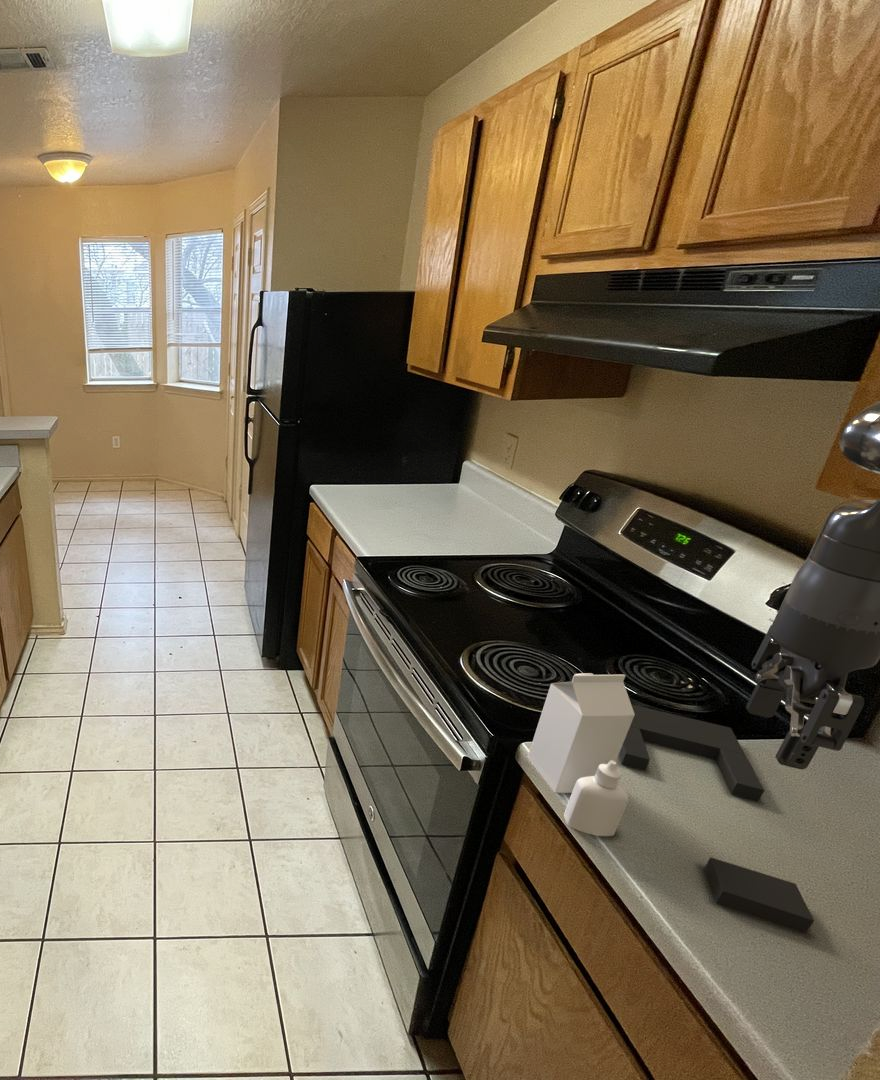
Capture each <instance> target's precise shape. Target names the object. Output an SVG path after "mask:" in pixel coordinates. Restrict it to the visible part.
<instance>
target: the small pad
mask: <svg viewBox="0 0 880 1080" xmlns="http://www.w3.org/2000/svg"><path fill="white" fill-rule="evenodd" d="M703 871H704V874H705V877H706V879H707V882H708V885H709V888H710V891H711V894H712V897H713V899H714V902H715V904H716V905H720V906H723V907H726V908H729V909H732V910H734V911H738V912H741V913H744V914H746V915H750V916H753V917H756V918H758V919H762V920H764V921H767V922H770V923H773V924H777V925H780V926H782V927H786V928H789V929H792V930H795V931H798V932H801V933H803V934H807V933H808V931H809V930H810V928H811V926H812V925H813V923H814V922H815V919H814V918H813V916H812V914H811V912H810V909H809V907H808V906H807V904H806V902H805V899H804V898H803V896H802V894H801V891H800V890H799V888H798V885H797V884H796V883H794V882H792V881H788V880H785V879H781V878H779V877H776V876H773V875H769V874H767V873H766V874H765V873H762V872H761V871H757V870H753V869H749V868H746V867H743V866H740V865H737V864H734V863H730V862H727V861H724V860H721V859H718V858H714V857H711V856H710V857H709V858H708V860H707V862H706V863H705V866H704V868H703Z"/></svg>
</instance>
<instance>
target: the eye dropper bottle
mask: <svg viewBox="0 0 880 1080" xmlns="http://www.w3.org/2000/svg"><path fill="white" fill-rule="evenodd" d="M621 777H622V773H621V771H620V770H619V769H618V768H617V761H616V762H615V761H613V760H610V761H609V763H608V764H600V765H599V766H598V769H597V772H596V774H595V776H589V777H583V778H580V779H578V780H577V781H576V784H575V786H574V789H573V791H572V793H570V797H569V799H568V801H567V805H566V807H565V811H564V812H563V818H564V820H565V823H566V825H567V826H568V827H570V828H572V829H574V830H577V831H579V832H582V833H585V834H588V835H593V836H598V837H612V836H615V833H616V831H617V829H618V826H619V824H620V822H621V820H622V817H623V815H624V812H625V810H626V807H627V805H628V801H629V795H628V793H627V791H626V788H624V786H622V785H621V784H619V782H620V780H621Z"/></svg>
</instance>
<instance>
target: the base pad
mask: <svg viewBox="0 0 880 1080" xmlns="http://www.w3.org/2000/svg"><path fill="white" fill-rule="evenodd" d="M631 705H632V708H633V711H634V714H635V715H634V717H633V720H632V722H631V725H630V727H629V730H628V732H627V735H626V737H625V740H624V742H623V745H622V747H621V750H620V752H619V755H618V757H619V761H620V765H622V766H625V767H629V768H633V769H637V770H641V771H644V772H646V770H647V768H648V765H649V764H650V761H651V759H650V756H649V755H650V754H649V752H648V749H647V746H646V744H645V743H648V744H649V743H650V744H652V745H657V746H661V747H665V748H668V749H672V750H676V751H680V752H684V753H688V754H692V755H696V756H699V757H704V758H708V759H711V760H714V761H715V763H716V765H717V767H718V770H719V771H720V774H721V776H722V778H723V780H724V782H725V784H726V786H727V789H728V791H729V793H730V795H733V796H735V797H740V798H743V799H747V800H750V801H754V802H759V801H760V800H761V798H762V797H763V794H764V792H765V788H764V786H763V785H762V783H761V781H760V779H759V777H758V775H757V774H756V771H755V769H754V768H753V766H752V764H751V762H750V761H749V758H748V757H747V755H746V753H745V751H744V750H743V747H742V746H741V744H740V742H739V740H738V739H737V737H736V735H735V733H734V731H733V729H732V728H731V727H729V726H725V725H720V724H716V723H711V722H708V721H704V720H699V719H695V718H691V717H686V716H682V715H677V714H675V713H674V714H673V713H669V712H665V711H661V710H656V709H653V708H648V707H644V706H640V705H636V704H632V703H631Z"/></svg>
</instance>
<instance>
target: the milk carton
mask: <svg viewBox="0 0 880 1080" xmlns="http://www.w3.org/2000/svg"><path fill="white" fill-rule="evenodd" d="M625 678H626V674H621V673H620V674H594V673H592V672H587V673H586V672H585V673H583V672H582V673H581V672H580V673H574V675H573V676H572V679H571V681H563V682H551V683H550V686H549V688H548V692H547V695H546V698H545V701H544V705H543V708H542V711H541V713H540V717H539V719H538V723H537V727H536V729H535V733H534V736H533V739H532V741H531V744H530V748H529V751H528V754H527V759H528V760H529V761H530V762H531V763H532V765H533V766H534V768H535V769H536V770H537V772H538V773H539V774H540V776H541V777H542V778H543V779H544V781H545V782H546V783H547V784H548V785H549V787H550V788H551V790H552V791H553V792H554V793H555V794H572V791H573V789H574V786H575V784H576V781H577V780H578V779H580V778H583V777H589V776H595V774H596V772H597V769H598V766H599V765H600V764H608V763H609V761H610V760H613V761H615V762H616V763H617V760H618V757H619V752H620V750H621V747H622V745H623V742H624V740H625V737H626V735H627V732H628V730H629V727H630V725H631V722H632V720H633V717H634V715H635V714H634V711H633V708H632V705H633V704H632V703H631V700H630V696H629V694H628V692H627V688H626V686H625V682H624V680H625ZM631 704H632V705H631Z"/></svg>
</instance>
